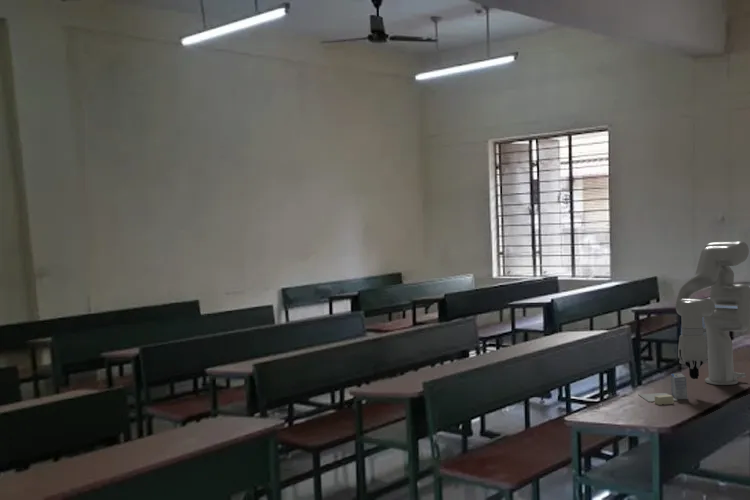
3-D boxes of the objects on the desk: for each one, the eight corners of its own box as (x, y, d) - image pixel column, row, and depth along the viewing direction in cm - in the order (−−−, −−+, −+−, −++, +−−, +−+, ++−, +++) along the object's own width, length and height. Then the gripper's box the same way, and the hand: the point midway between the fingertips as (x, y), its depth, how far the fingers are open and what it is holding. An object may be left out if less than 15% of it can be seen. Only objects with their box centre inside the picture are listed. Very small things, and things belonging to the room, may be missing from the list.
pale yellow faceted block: (669, 402, 274) (668, 394, 274) (673, 403, 271) (673, 396, 271) (654, 403, 273) (654, 395, 273) (659, 405, 270) (658, 397, 270)
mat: (666, 393, 286) (666, 392, 286) (677, 400, 274) (677, 399, 274) (638, 395, 286) (638, 394, 286) (648, 402, 274) (648, 401, 274)
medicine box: (687, 399, 276) (686, 377, 275) (675, 399, 276) (674, 377, 276) (683, 394, 283) (682, 373, 283) (671, 394, 284) (670, 373, 284)
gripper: (707, 329, 283) (709, 375, 283) (669, 331, 283) (671, 377, 283) (715, 332, 275) (717, 379, 275) (676, 334, 276) (678, 381, 276)
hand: (694, 378), depth 279 cm, fingers closed
